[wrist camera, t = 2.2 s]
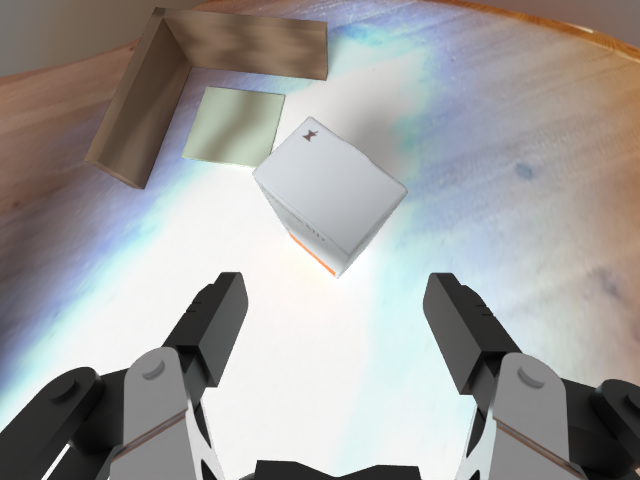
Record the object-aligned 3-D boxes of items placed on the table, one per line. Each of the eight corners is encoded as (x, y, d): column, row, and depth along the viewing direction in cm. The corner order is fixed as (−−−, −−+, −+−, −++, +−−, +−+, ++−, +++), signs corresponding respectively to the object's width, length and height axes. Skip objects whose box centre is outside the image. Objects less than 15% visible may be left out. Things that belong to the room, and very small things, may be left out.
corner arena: (132, 187, 24) (84, 159, 19) (185, 57, 28) (155, 7, 24) (297, 213, 23) (289, 189, 18) (327, 72, 27) (327, 22, 22)
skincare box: (289, 238, 22) (245, 170, 11) (319, 206, 23) (309, 110, 11) (338, 282, 21) (348, 259, 10) (368, 247, 22) (413, 185, 10)
